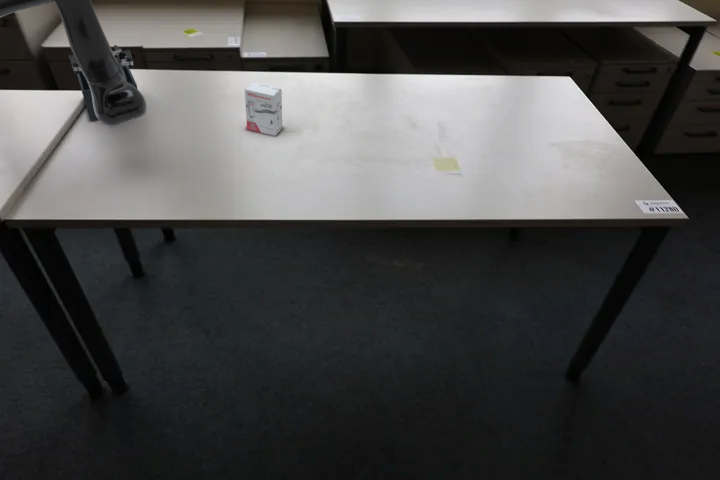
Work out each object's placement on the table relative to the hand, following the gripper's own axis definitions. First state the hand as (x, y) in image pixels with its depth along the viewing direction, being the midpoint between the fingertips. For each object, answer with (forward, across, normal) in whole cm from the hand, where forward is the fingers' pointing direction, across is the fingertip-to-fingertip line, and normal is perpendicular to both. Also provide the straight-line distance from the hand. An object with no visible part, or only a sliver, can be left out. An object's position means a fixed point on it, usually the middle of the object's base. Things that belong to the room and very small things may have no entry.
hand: (98, 50), depth 133 cm
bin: (-1, 0, +15) cm, 15 cm away
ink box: (-27, -35, +15) cm, 47 cm away
